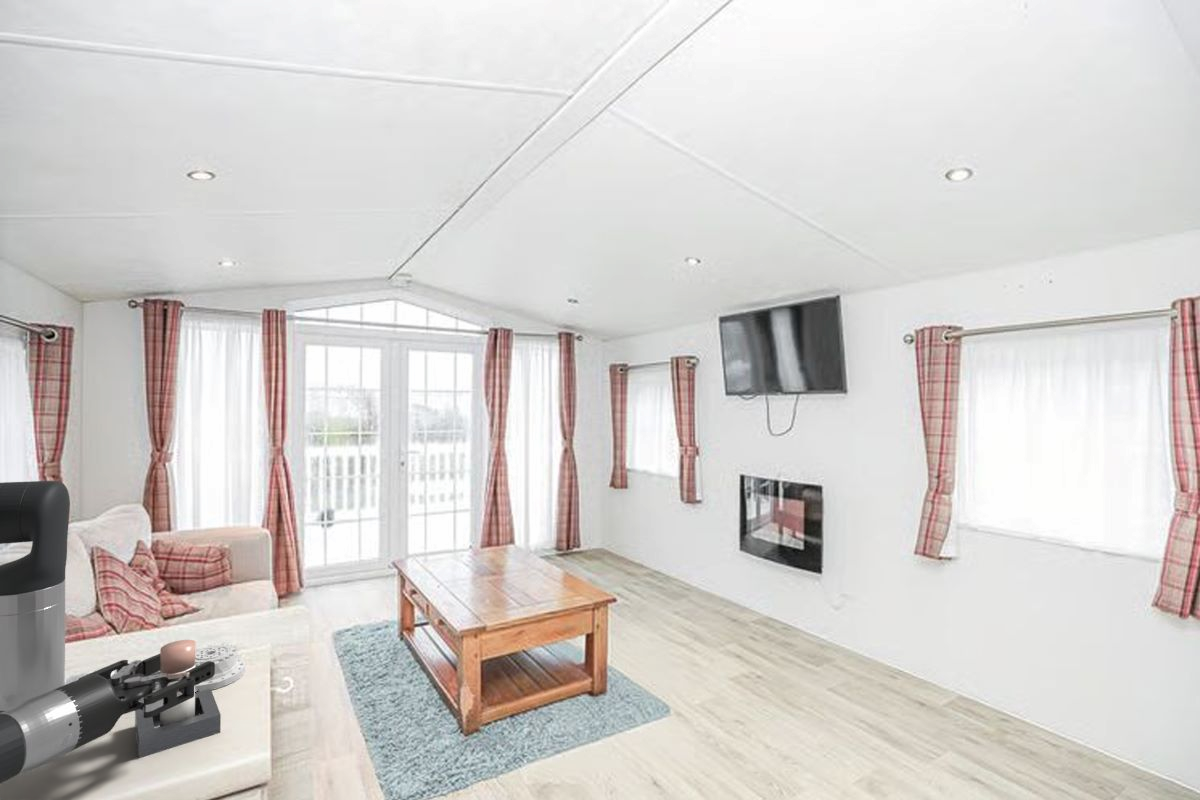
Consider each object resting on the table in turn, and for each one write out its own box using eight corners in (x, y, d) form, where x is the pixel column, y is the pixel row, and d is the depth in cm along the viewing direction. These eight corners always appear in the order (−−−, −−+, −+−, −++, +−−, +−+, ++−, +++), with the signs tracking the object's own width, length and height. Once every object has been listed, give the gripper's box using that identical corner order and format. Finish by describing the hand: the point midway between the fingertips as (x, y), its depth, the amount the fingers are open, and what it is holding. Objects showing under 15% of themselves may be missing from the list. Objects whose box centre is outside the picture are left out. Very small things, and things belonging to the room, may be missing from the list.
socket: (135, 726, 83) (135, 709, 83) (210, 704, 89) (210, 688, 89) (138, 757, 76) (139, 738, 76) (220, 732, 82) (220, 714, 82)
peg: (158, 728, 82) (159, 644, 82) (192, 718, 85) (193, 637, 85) (161, 742, 79) (161, 655, 79) (196, 731, 82) (197, 646, 82)
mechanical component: (157, 690, 93) (210, 698, 91) (157, 663, 93) (210, 670, 91) (210, 662, 103) (258, 668, 101) (210, 637, 103) (259, 643, 101)
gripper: (96, 703, 66) (228, 644, 82) (18, 680, 71) (157, 629, 86) (95, 768, 66) (227, 697, 82) (18, 741, 71) (156, 679, 86)
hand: (191, 662), depth 84 cm, fingers open, 8 cm apart
